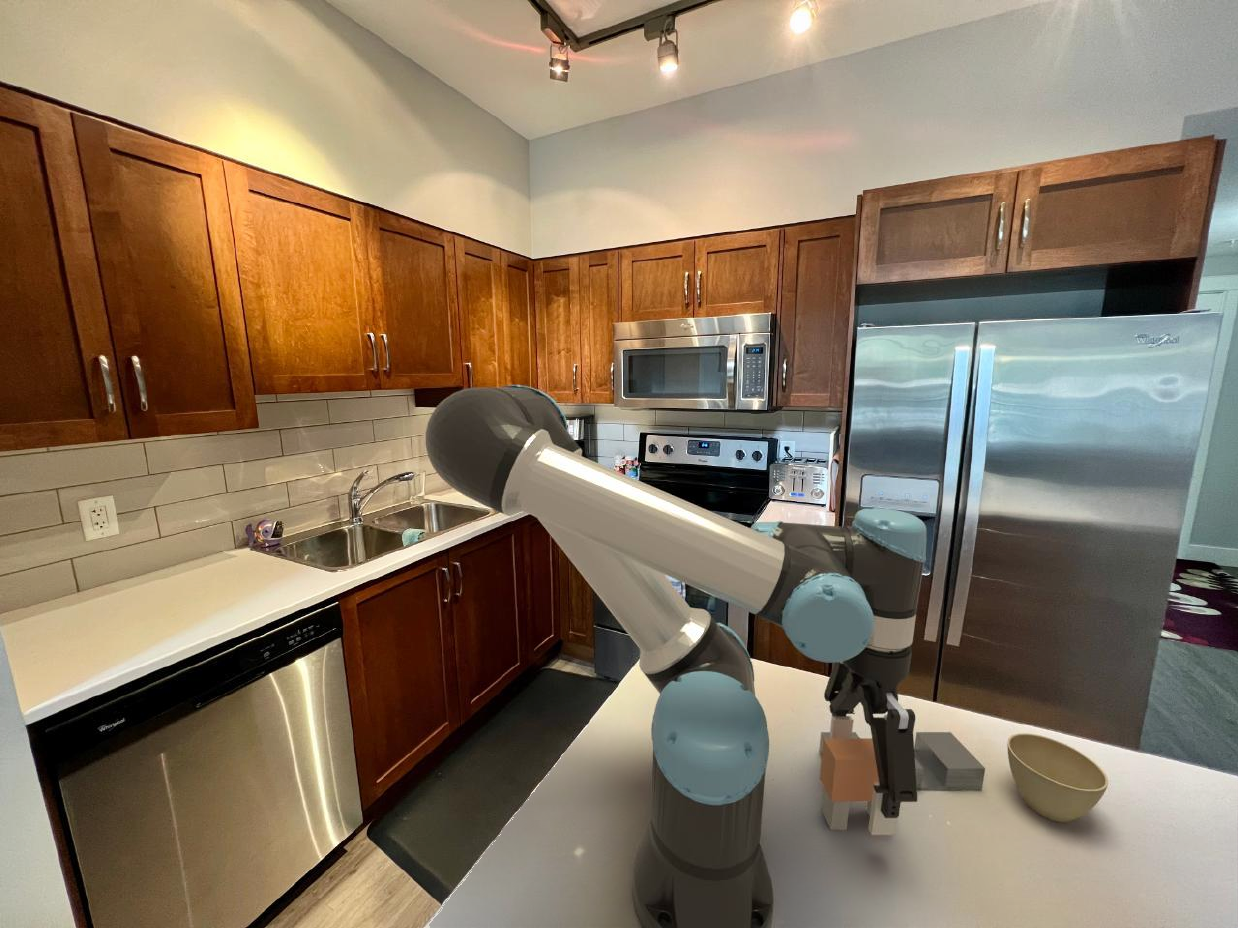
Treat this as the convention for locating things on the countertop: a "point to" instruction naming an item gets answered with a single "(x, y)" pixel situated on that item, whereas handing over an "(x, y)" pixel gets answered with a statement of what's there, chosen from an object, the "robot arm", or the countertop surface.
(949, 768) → the grey block fixture
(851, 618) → the robot arm
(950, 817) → the countertop surface
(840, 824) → the orange block
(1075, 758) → the beige planter bowl
